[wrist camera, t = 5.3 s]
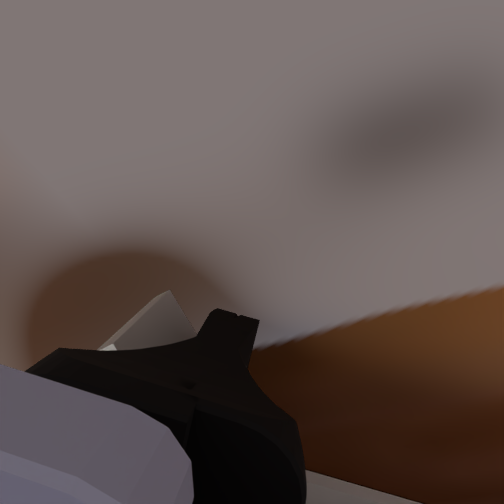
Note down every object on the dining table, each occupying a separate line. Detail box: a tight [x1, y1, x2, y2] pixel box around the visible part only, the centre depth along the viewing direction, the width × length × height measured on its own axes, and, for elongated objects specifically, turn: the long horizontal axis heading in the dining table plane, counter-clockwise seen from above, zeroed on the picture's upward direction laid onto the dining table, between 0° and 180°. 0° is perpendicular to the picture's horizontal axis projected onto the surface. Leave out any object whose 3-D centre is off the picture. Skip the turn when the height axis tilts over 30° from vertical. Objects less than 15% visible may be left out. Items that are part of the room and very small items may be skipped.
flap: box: [97, 290, 197, 350], centre depth 11 cm, size 7×1×4 cm, turn 29°
